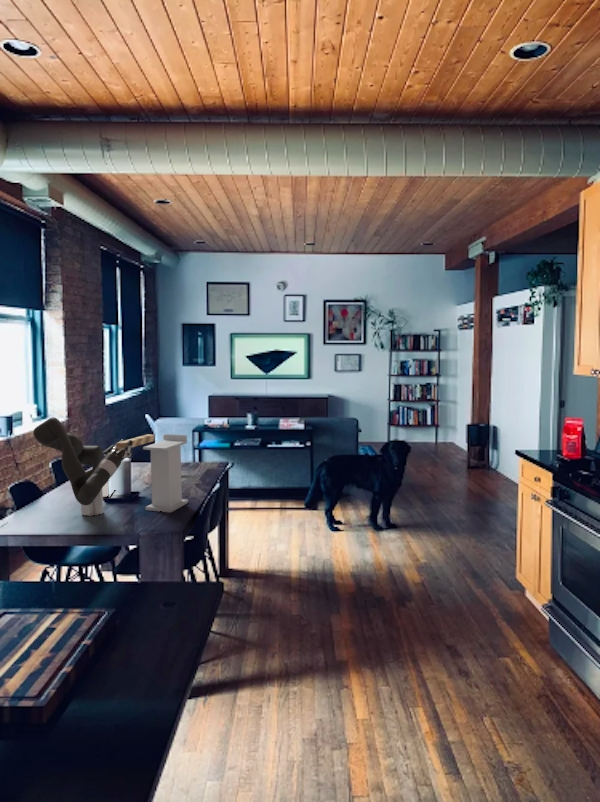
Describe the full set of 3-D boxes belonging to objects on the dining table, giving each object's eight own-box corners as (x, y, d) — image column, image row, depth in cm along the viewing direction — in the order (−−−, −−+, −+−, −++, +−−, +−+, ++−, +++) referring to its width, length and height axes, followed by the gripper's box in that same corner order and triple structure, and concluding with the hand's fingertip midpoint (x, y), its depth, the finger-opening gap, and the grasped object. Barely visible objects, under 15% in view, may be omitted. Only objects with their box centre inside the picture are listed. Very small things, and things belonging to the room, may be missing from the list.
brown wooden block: (123, 450, 265) (123, 443, 264) (116, 449, 266) (116, 442, 265) (154, 440, 289) (154, 434, 289) (147, 440, 290) (147, 434, 290)
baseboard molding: (87, 499, 322) (110, 499, 323) (86, 494, 321) (110, 493, 323) (98, 485, 352) (120, 485, 354) (98, 480, 352) (120, 480, 354)
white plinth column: (168, 513, 294) (166, 442, 290) (143, 511, 298) (141, 440, 294) (190, 501, 315) (188, 435, 311) (166, 499, 319) (164, 433, 315)
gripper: (119, 460, 253) (138, 435, 266) (90, 458, 257) (110, 433, 270) (125, 474, 257) (143, 448, 271) (96, 472, 261) (116, 446, 275)
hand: (127, 441), depth 270 cm, fingers closed on brown wooden block, 3 cm apart
